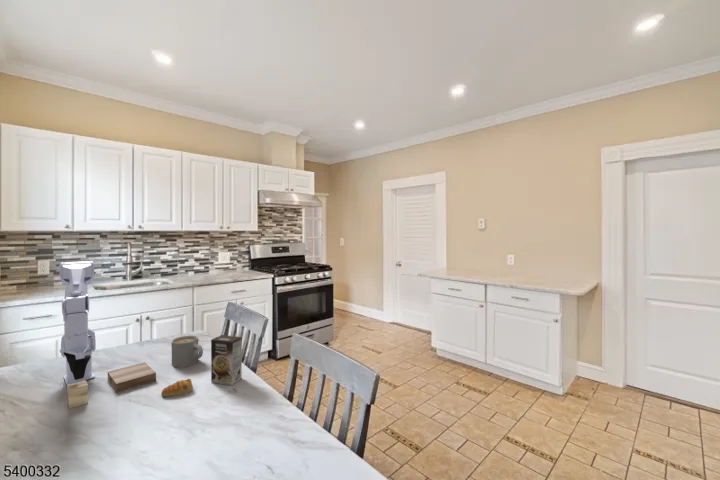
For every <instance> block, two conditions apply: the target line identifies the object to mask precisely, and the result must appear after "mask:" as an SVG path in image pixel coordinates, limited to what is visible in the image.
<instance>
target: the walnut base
mask: <svg viewBox="0 0 720 480" xmlns="http://www.w3.org/2000/svg"><path fill="white" fill-rule="evenodd" d="M107 380H108V382H109V384H110V385H111V386H112V388H113V389H114V391H115V393H119V392H123V391H127V390H129V389H134V388H135V387H139V386H143V385H145V384H146V385H147V384H150V383H154V382H156V381H157V372H156V371H155V370H154V369H153V368H152V367H151V366H149V365H148V363H146V361H143V362H141V363H140V362H139V363H137V364H132V365H129V366H125V367H121V368H116V369H114V370H109V371H107Z"/></svg>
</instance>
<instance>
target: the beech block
mask: <svg viewBox="0 0 720 480" xmlns="http://www.w3.org/2000/svg"><path fill="white" fill-rule="evenodd" d="M66 387H67V390H66V391H67V405H68V409H72V408H76V407H79V406H82V405H85V404H87V403H89V384H88V382H87V380H84V381H80V382H76V383H72V384H68V385H66Z"/></svg>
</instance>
